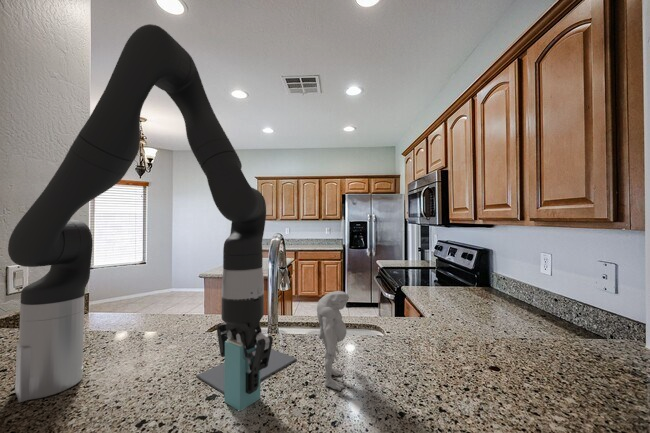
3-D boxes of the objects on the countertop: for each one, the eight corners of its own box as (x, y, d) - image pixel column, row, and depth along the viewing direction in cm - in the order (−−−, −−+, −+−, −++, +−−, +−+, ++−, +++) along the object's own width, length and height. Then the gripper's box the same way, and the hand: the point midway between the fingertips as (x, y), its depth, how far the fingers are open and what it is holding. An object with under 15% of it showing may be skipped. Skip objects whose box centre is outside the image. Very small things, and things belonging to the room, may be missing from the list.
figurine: (354, 409, 48) (354, 304, 48) (316, 409, 47) (315, 304, 48) (346, 359, 65) (345, 283, 66) (317, 359, 65) (317, 283, 66)
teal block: (239, 411, 47) (240, 345, 48) (224, 401, 50) (224, 339, 50) (260, 398, 51) (260, 337, 51) (245, 389, 53) (245, 332, 54)
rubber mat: (230, 397, 51) (230, 395, 51) (196, 376, 58) (196, 375, 58) (296, 360, 65) (296, 358, 65) (263, 347, 72) (263, 345, 72)
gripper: (203, 291, 52) (202, 383, 52) (251, 302, 44) (251, 413, 43) (237, 284, 58) (236, 366, 58) (285, 293, 50) (285, 390, 49)
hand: (242, 386), depth 50 cm, fingers closed on teal block, 4 cm apart
